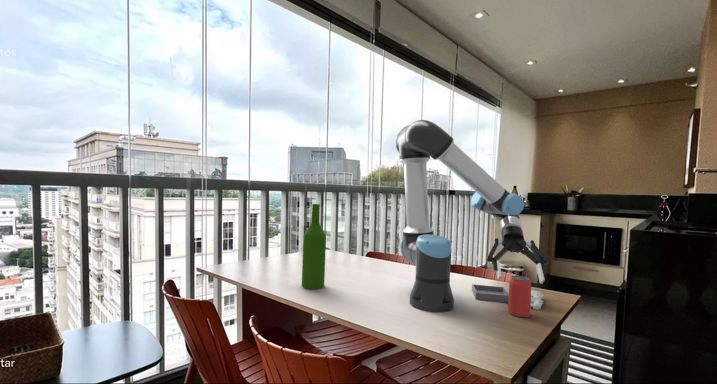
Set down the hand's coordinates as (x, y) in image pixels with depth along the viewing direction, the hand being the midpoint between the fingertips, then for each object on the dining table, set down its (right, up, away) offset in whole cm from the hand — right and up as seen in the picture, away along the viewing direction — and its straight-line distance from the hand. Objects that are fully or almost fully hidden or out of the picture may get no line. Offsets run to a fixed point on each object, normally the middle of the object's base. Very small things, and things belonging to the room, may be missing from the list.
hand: (520, 280), depth 117 cm
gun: (+6, -11, +8) cm, 15 cm away
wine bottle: (-74, -7, +18) cm, 76 cm away
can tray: (-5, -10, +13) cm, 17 cm away
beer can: (-3, -10, -6) cm, 12 cm away
